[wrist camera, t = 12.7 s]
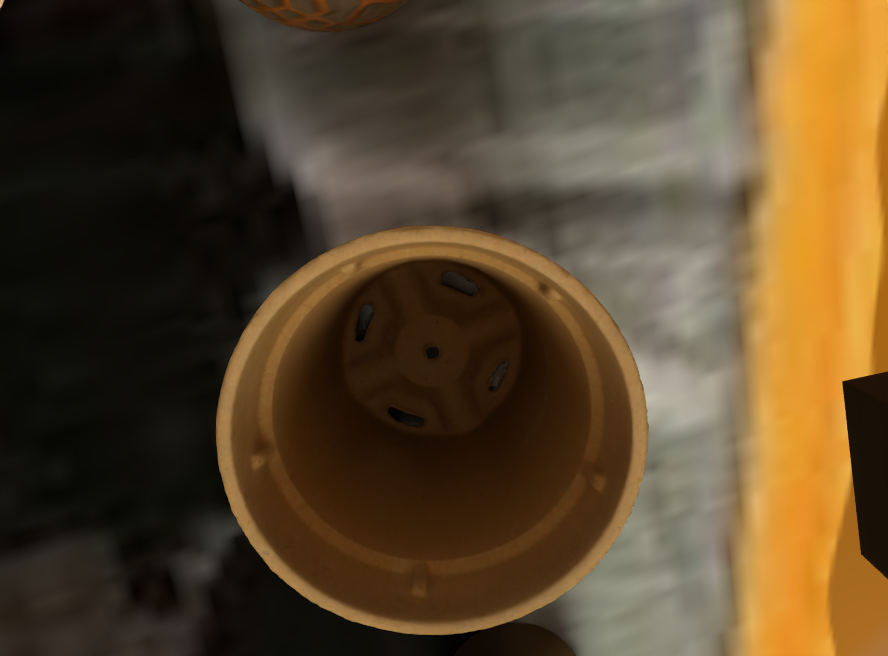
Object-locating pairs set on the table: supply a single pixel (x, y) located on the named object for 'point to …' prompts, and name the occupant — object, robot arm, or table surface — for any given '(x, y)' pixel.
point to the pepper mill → (514, 642)
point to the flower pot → (432, 431)
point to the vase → (324, 12)
